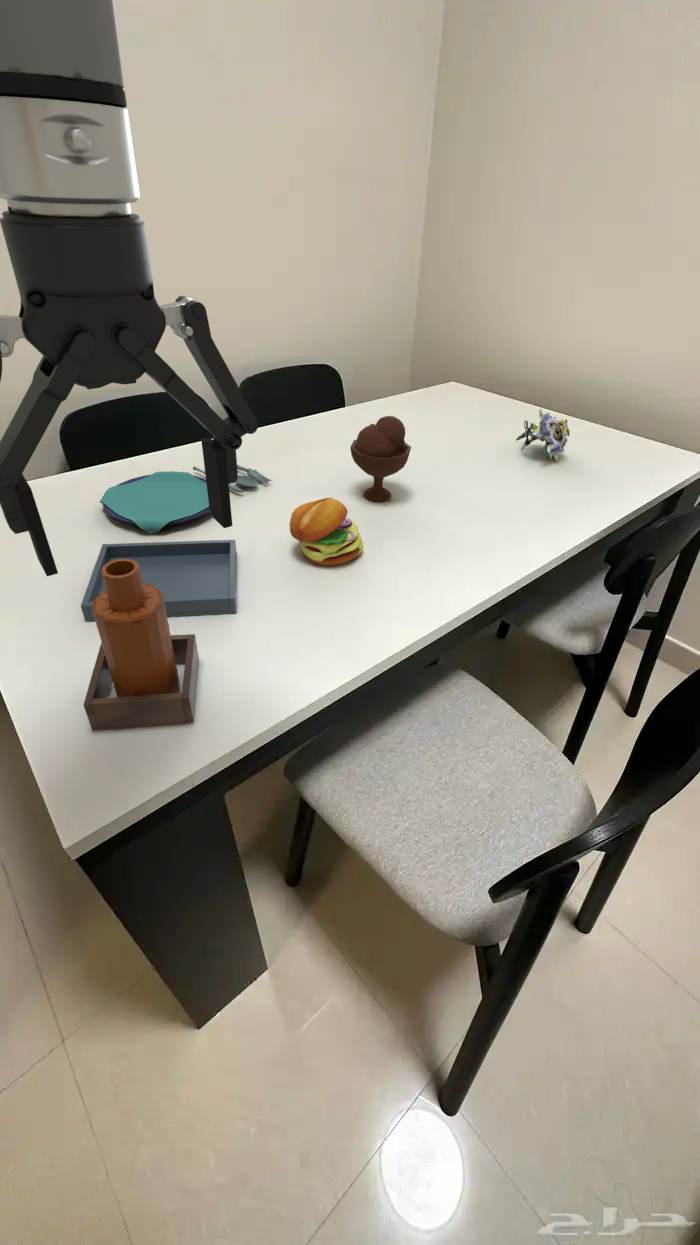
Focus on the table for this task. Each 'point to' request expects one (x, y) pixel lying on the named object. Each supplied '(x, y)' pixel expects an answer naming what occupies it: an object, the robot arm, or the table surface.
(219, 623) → the table surface
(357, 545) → the cheeseburger
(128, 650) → the bottle
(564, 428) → the passion flower
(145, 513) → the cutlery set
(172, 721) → the tray
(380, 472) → the ice cream bowl
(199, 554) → the tray
